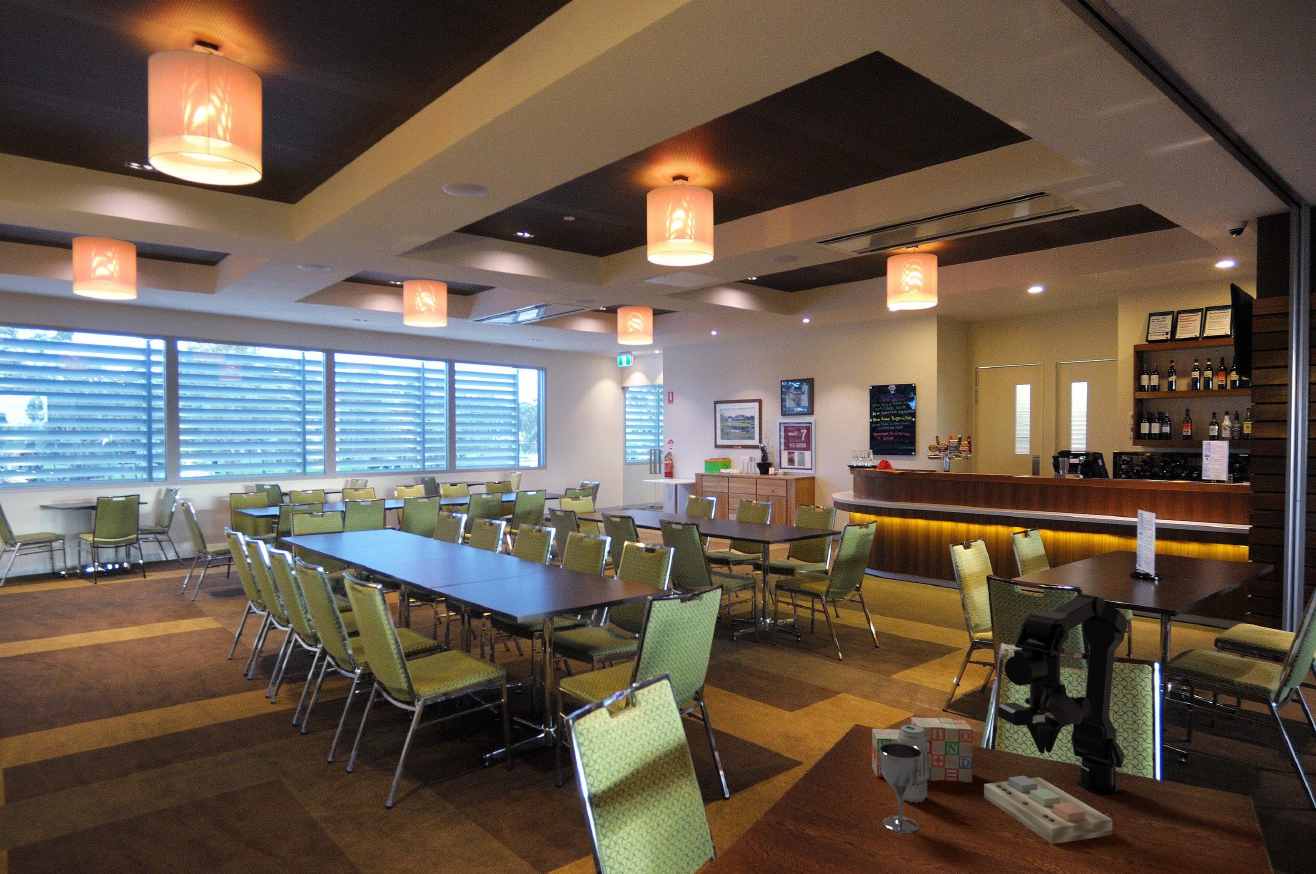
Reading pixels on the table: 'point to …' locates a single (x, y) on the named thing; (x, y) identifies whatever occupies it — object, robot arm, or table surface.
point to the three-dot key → (1022, 784)
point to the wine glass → (900, 779)
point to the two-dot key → (1069, 812)
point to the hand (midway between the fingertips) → (1044, 752)
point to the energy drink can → (918, 739)
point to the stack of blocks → (935, 748)
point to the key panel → (1047, 813)
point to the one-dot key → (1044, 797)
